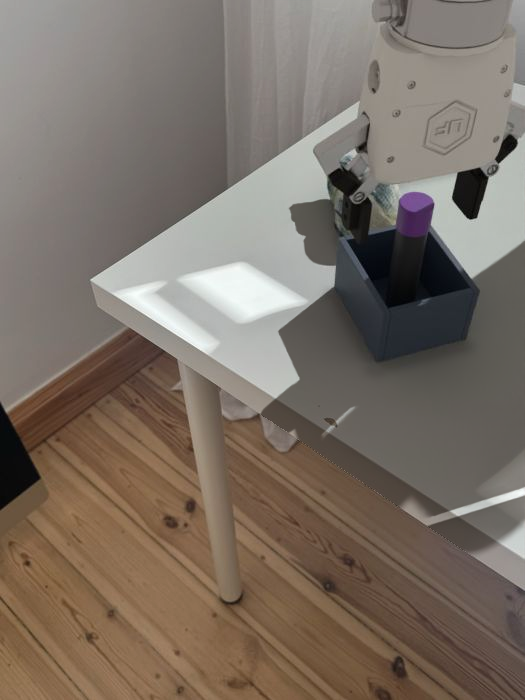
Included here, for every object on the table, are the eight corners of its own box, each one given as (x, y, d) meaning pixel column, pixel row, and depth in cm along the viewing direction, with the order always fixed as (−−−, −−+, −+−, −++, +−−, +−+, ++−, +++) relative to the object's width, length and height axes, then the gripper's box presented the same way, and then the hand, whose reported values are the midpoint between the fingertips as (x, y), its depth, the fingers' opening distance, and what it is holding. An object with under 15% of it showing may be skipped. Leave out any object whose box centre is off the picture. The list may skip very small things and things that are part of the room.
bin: (415, 270, 72) (425, 217, 67) (465, 343, 66) (480, 290, 61) (333, 290, 71) (337, 237, 66) (376, 367, 64) (384, 314, 59)
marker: (405, 297, 69) (425, 188, 59) (418, 318, 67) (440, 208, 58) (377, 304, 68) (393, 195, 59) (390, 325, 67) (408, 216, 57)
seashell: (348, 269, 75) (333, 196, 82) (418, 242, 73) (396, 169, 80) (325, 227, 70) (311, 153, 78) (399, 196, 68) (377, 124, 76)
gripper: (346, 54, 43) (328, 273, 55) (601, 13, 46) (528, 228, 59) (302, 2, 47) (295, 214, 60) (536, -32, 51) (482, 176, 64)
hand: (410, 221), depth 59 cm, fingers open, 9 cm apart
